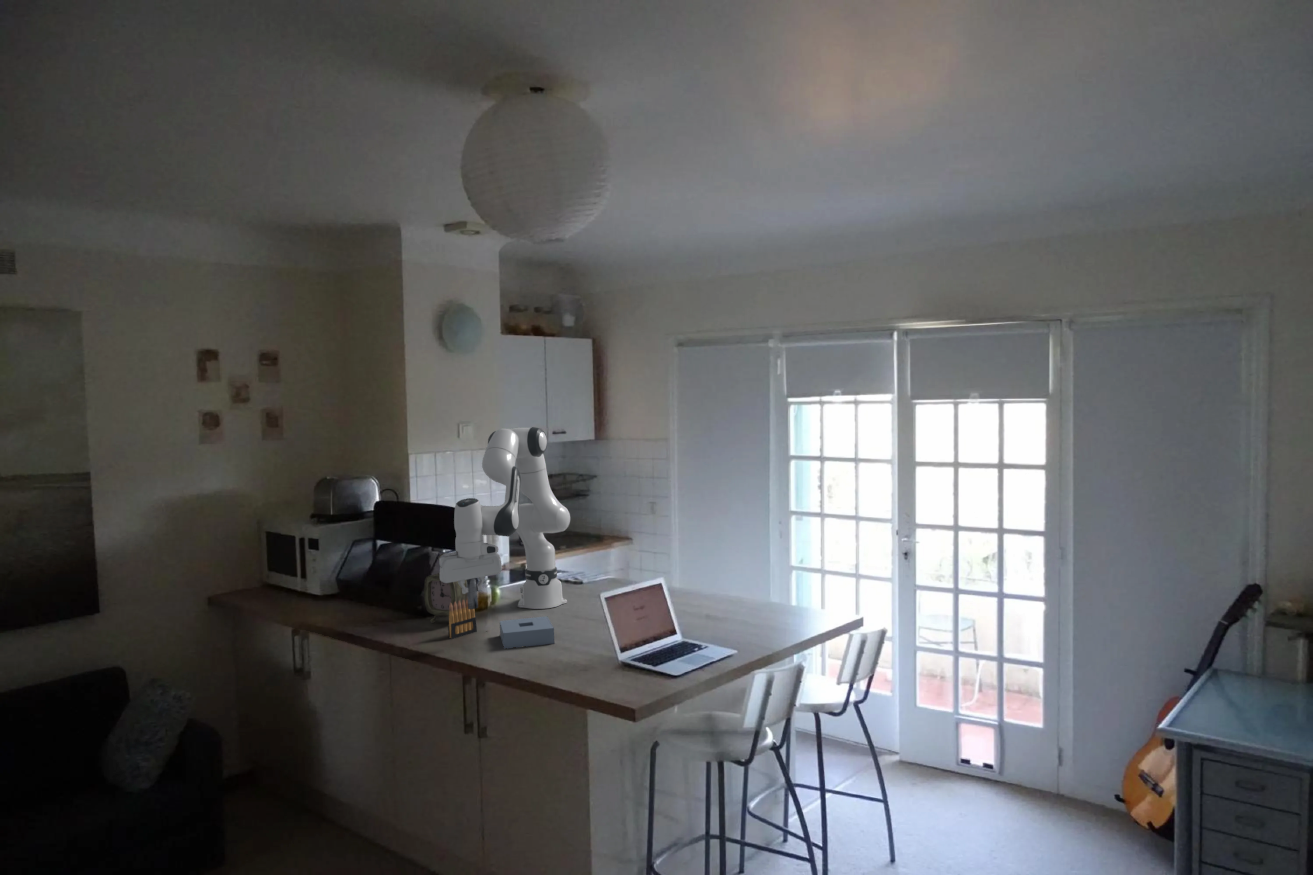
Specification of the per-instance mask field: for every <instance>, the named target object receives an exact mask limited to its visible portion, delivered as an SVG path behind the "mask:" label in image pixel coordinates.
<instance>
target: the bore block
mask: <svg viewBox="0 0 1313 875" xmlns="http://www.w3.org/2000/svg"><path fill="white" fill-rule="evenodd" d="M499 636H500V640H501V642H502V646H504V647H503V649H504V650H505V648H507V649H514V648H513V647H516V648H523V647H522V646H526V647H532V646H542V645H543V646H544V645H552V644H553V645H554V644H555V627H554V625H553V623H552V622H551V620H550V619H549V617H548V616H546V615H545V616H537V617H535V616H534V617H527V618H526V617H525V618H516V619H506V620H505V619H504V620H499Z"/></svg>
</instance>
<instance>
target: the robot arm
mask: <svg viewBox="0 0 1313 875" xmlns="http://www.w3.org/2000/svg"><path fill="white" fill-rule="evenodd" d="M547 447H548V438H547V435H546V432H545V431H544V430H543V429H542V428H540V427H536V426H531V427H515V428H503V427H502V428H499V429H497V430H493V432H492V433H491V434H490V435H489V436H488V439H487V446H486V447H485V448H486V449H485V451H484V454H483V457H482V463H481V467H482V468H481V469H482V470H483V473H485V475H486V476H487V478H489V479H490V480H492V481H494V482H496V483H499V484H501V485H504V486H505V494H504V502H503V503H502V504H500V505H482V504H481V503H480V500H479V499H477V498H473V497H471V498H469V497H468V498H463V499H460V500H459V501H457V502H456V503H455V507H454V512H453V513H454V518H453V520H454V521H453V524H454V525H453V526H454V530H455V536H456V537H455V543H454V544H455V545H454V546H455V551H452V552H447V553H445V554H443V553H442V554H443V555H442V556H441V557H440V558H439V557H438V558H439V560H438V561H439V562H438V563H439V564H438V565H439V571H440V580H441V581H442V582H443V583H450V582H456V581H458V583H459V585H460V586H461V588H462V593H463V594H467V593H469V591H468V588H467V587H465V586H464V583H465V580H468V579H473V578H477V579H478V580H479V581H478V582H477V592H482V590H483V588H482V587H483V584H484V582H485V581H486V579H485V577H489V576H490V577H491V576H495V575H500V574H501V573H502V571H503V567H502V560H501V556H500V554H499V547H498V546H497V545H494V544H491V543H488V542H484V536H499V537H500V536H501V537H511V536H512V535H514V533H515V532H516V533H517V534H518V536H519V538H520V539H521V541H522V544H523V547H524V551H525V562H526V563H525V564H526V569H525V573H524V574H525V579H526V580H525V582H524V583H523V584H522V586H520V592H519V593H520V594H521V597H520V598H519V601H518V603H517V607H518V608H523V609H524V608H525V609H533V610H544V609H550V608H555V607H559V606H561V605H563V604H567V603H568V600H567V599H566V598H564V597H563V586H562V582H561V580H559V578H558V568H557V567H556V549H555V546H554V545H553V544H552V543H551V542H549V541H548V540H547V539H546V536H545V535H544V534H556V533H561V532H564V531H566V530H567V529H568V528H569V526H570V523H571V513H570V511H569V510H568V508H567V507H565V505H563V504H562V503H561V502H560V500H558V499H557V498H556V496H555V494H554V493H553V491H552V488H551V486H550V481H549V477H548V472H547V471H548V470H547V464H546V460H545V455H544V453H545V451H546V450H547ZM521 494H522V495H523V496H525V497H527V498H528V499H529V500H530V502H531V503H521V504H520V500H521V499H520V498H521V497H520V495H521Z"/></svg>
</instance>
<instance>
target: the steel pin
mask: <svg viewBox="0 0 1313 875" xmlns="http://www.w3.org/2000/svg"><path fill="white" fill-rule="evenodd" d="M477 579H478V578H473V579H468V580H466V582H467V588H468V591H469V593H467V600H468V609H478V608H479V601H478V600H479V598H478V591H477V585H478V582H477Z"/></svg>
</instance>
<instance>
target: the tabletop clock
mask: <svg viewBox="0 0 1313 875" xmlns="http://www.w3.org/2000/svg"><path fill="white" fill-rule="evenodd" d="M443 554H445V553H441V554H440V555H438V559H437V560H438V561H439V558H440V557H441V556H442V555H443ZM464 586H465V587H467V582H466V580H465V583H464ZM423 598H424V605H425V609H426V612H427V613H429V614H430V615H433V616H434V617H431V618H430V622H431V623H432V624H433V623H435V622H436V618H437V616H439V617H449V606H450V603H452V606H453V607H454V602H456V604H457V612H458V601H460V603H461V609H462V601H463V599H464V601H465V608H466V600H467V594H463V593H462V588H461V586H460V585H459V583H458V581H456V582H450V583H443V582H442V581H441V580H440V570H439V572H438V573H434V574H431V575H428V576H426V577H425V579H424V583H423ZM453 610H454V609H453Z"/></svg>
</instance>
